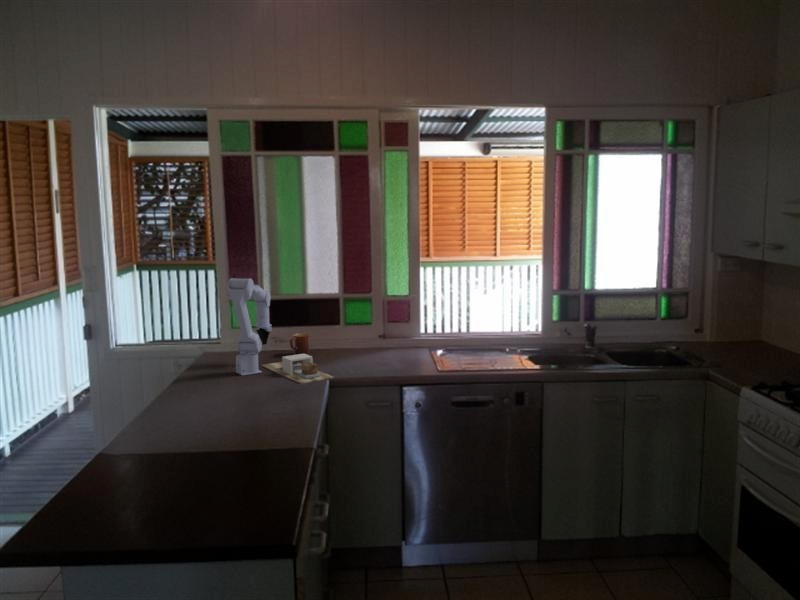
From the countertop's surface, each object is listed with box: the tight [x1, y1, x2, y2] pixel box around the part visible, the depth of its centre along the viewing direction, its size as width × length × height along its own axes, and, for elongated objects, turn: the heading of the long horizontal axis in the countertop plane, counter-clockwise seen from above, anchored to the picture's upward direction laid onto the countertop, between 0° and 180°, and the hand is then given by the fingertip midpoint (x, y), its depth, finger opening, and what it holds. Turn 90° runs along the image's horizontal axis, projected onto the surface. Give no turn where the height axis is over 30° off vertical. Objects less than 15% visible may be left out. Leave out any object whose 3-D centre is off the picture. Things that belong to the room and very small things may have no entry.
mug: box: [289, 332, 311, 355], centre depth 316 cm, size 12×9×10 cm
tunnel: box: [281, 354, 314, 375], centre depth 282 cm, size 11×8×7 cm
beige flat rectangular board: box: [261, 361, 334, 385], centre depth 284 cm, size 16×39×1 cm, turn 36°
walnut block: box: [301, 362, 319, 375], centre depth 273 cm, size 5×5×4 cm
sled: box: [292, 361, 321, 379], centre depth 279 cm, size 7×23×4 cm, turn 36°
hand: (263, 344), depth 298 cm, fingers closed
